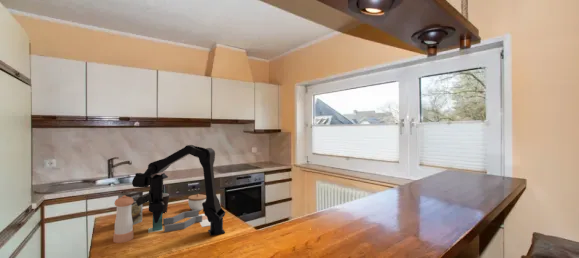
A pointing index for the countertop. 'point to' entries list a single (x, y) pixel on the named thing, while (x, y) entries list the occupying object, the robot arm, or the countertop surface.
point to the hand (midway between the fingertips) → (155, 220)
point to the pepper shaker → (123, 220)
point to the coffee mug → (165, 201)
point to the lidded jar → (196, 201)
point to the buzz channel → (177, 226)
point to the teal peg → (158, 223)
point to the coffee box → (134, 206)
